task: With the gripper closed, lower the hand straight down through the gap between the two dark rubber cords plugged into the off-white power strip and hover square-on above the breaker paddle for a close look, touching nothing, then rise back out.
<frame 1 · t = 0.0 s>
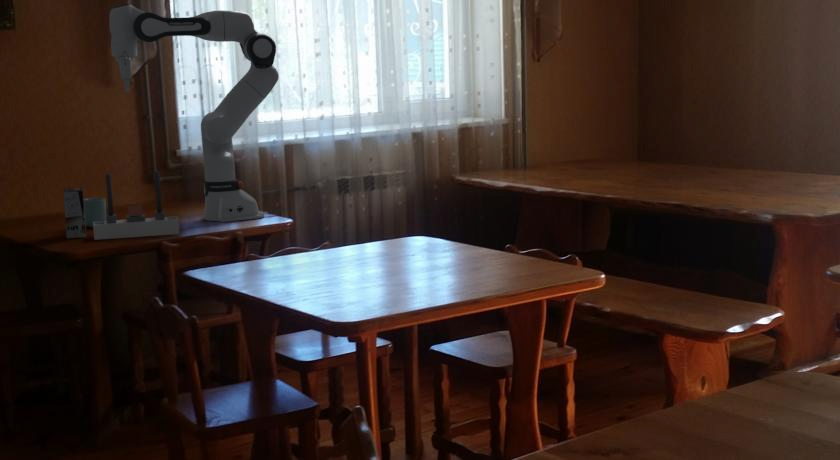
hand: (127, 91, 374), 48 cm above the table, fingers open, 8 cm apart
cord 2: (160, 219, 362), point 5 cm above the table, touching power strip
coffee box: (76, 236, 363), on the table
cord 1: (111, 222, 358), point 5 cm above the table, touching power strip
breaker: (135, 210, 360), point 8 cm above the table, hinge at 12.0°
power strip: (137, 235, 361), on the table
cup: (96, 227, 379), on the table
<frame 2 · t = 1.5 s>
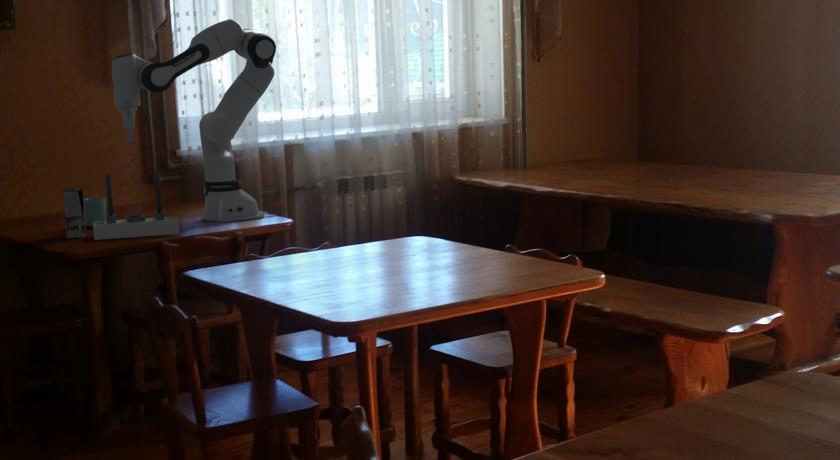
hand: (130, 140, 368), 31 cm above the table, fingers closed
nothing on the table moved.
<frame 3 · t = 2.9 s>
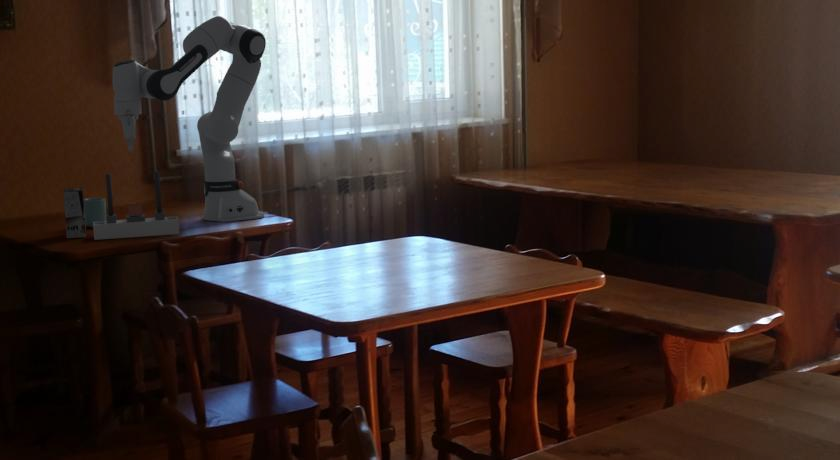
hand: (130, 150, 356), 29 cm above the table, fingers closed
nothing on the table moved.
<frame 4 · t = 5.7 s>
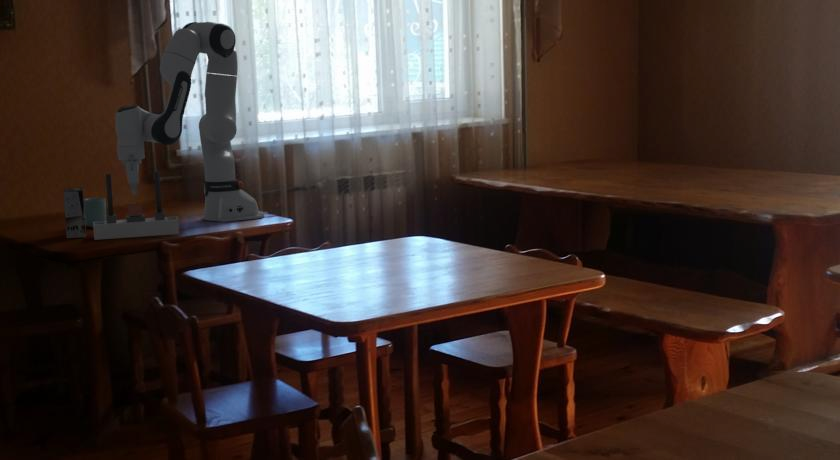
hand: (134, 194, 359), 14 cm above the table, fingers closed
nothing on the table moved.
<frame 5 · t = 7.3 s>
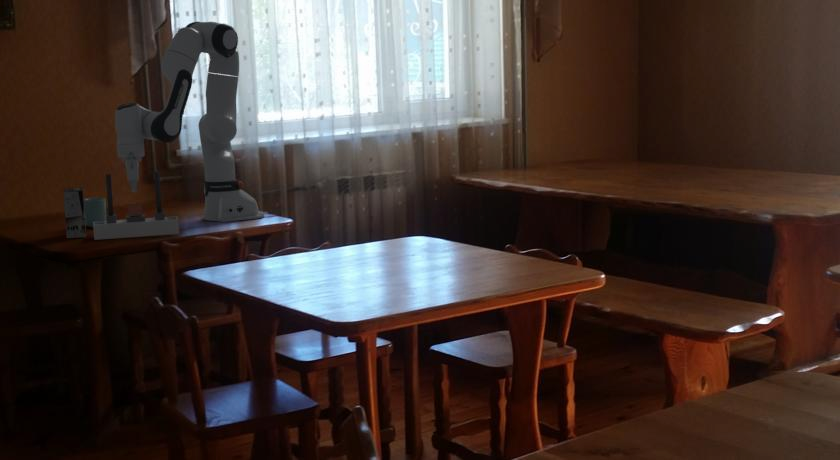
hand: (134, 192, 359), 15 cm above the table, fingers closed
nothing on the table moved.
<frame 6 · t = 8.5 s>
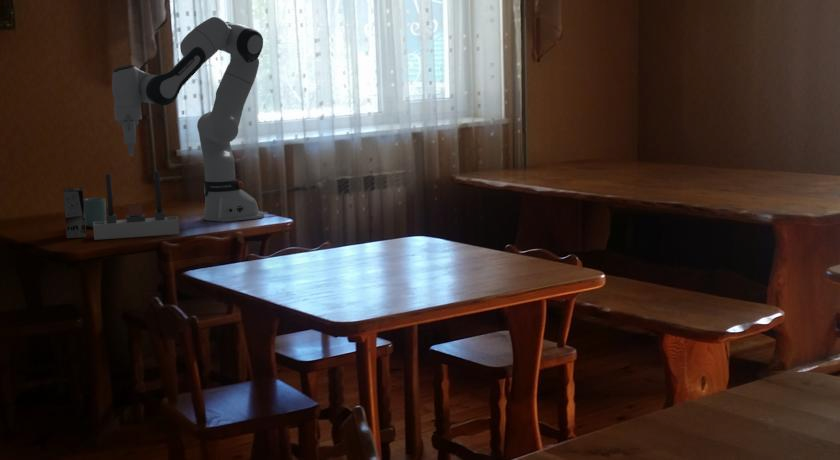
hand: (131, 155, 356), 27 cm above the table, fingers closed
nothing on the table moved.
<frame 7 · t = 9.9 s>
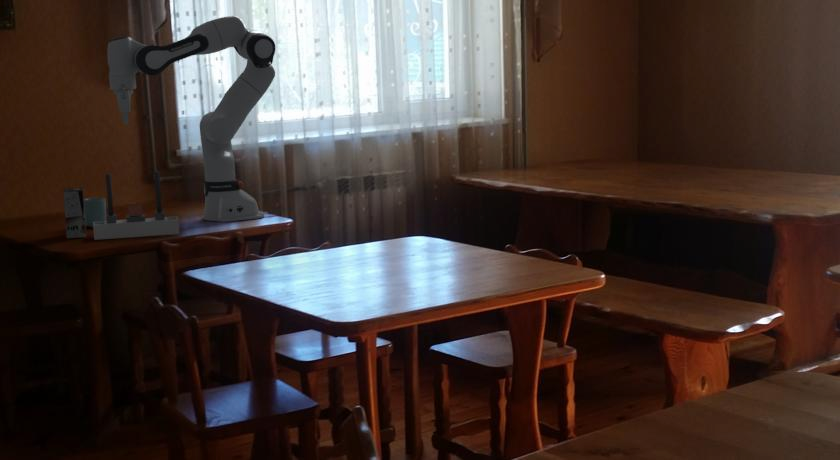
hand: (126, 124, 368), 37 cm above the table, fingers closed
nothing on the table moved.
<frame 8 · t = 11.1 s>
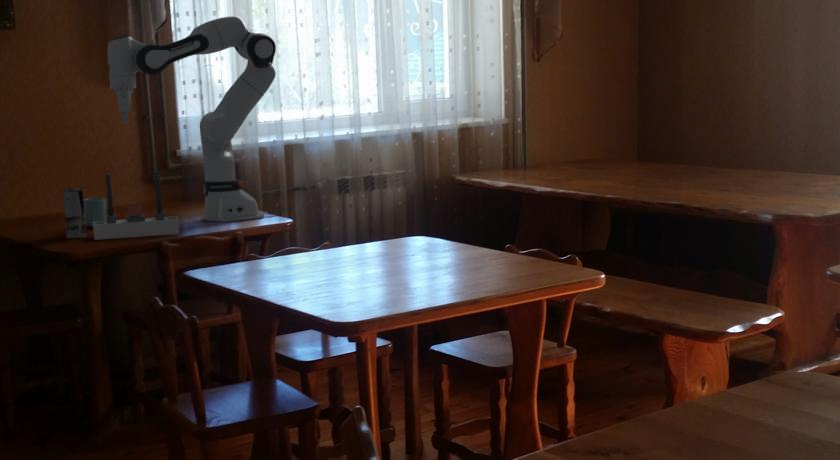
hand: (125, 123, 368), 37 cm above the table, fingers closed
nothing on the table moved.
at the end: breaker at +12° (first picture: +12°); cord 2 tilted 0°; cord 1 tilted 0° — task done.
